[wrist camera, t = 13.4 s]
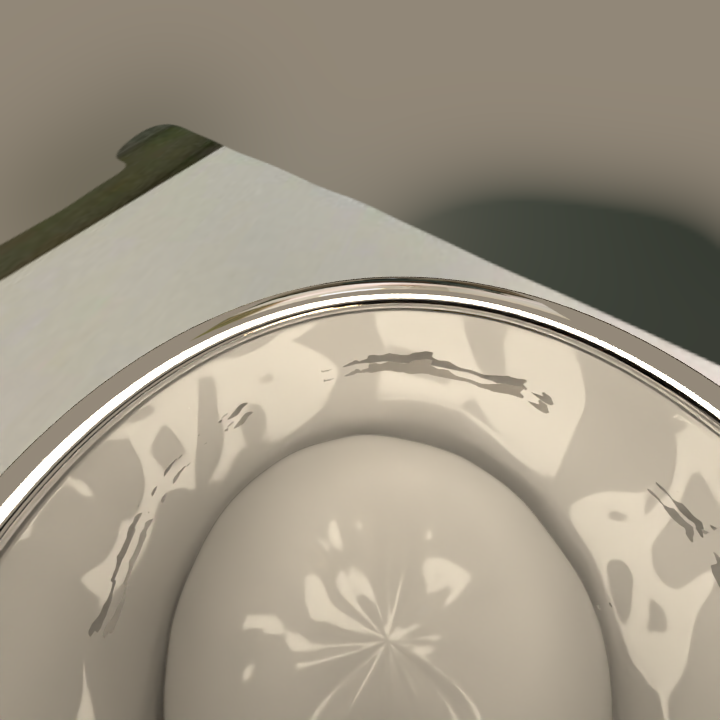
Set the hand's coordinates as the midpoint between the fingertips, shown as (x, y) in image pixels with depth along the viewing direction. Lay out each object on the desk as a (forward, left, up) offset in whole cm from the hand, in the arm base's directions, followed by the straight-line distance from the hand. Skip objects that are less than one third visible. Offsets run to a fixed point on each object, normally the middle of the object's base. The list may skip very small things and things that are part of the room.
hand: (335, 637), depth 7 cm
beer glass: (-1, -1, -9) cm, 9 cm away
